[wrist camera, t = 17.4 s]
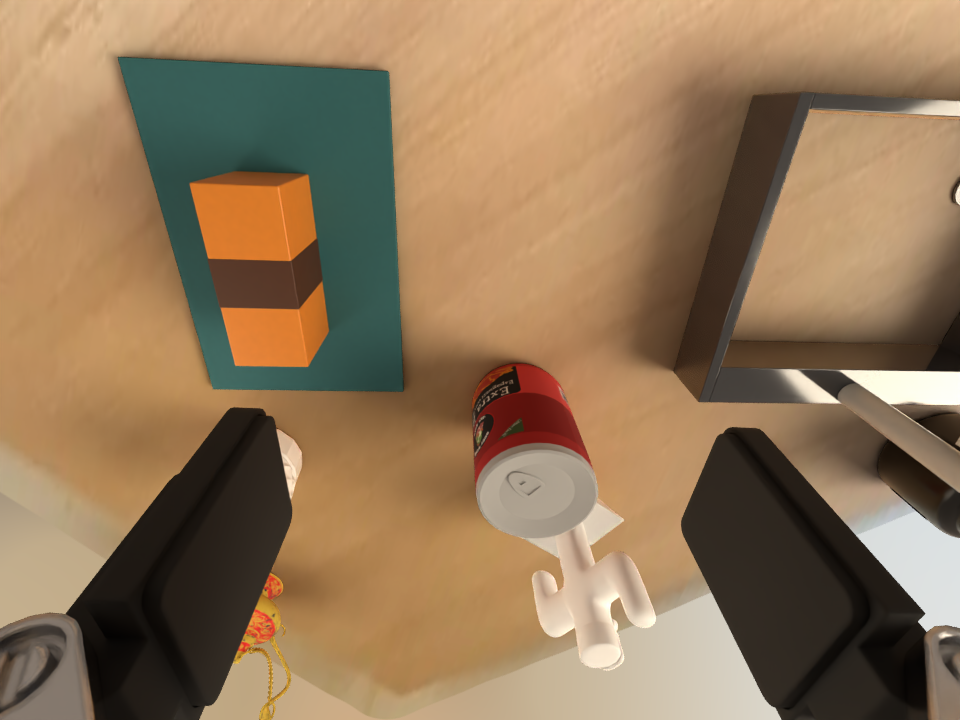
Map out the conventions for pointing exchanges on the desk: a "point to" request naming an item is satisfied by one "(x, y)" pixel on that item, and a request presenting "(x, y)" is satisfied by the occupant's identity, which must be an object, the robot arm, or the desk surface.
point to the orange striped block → (264, 265)
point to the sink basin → (809, 365)
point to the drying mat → (334, 192)
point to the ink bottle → (925, 477)
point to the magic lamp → (265, 635)
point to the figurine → (590, 590)
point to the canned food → (529, 455)
